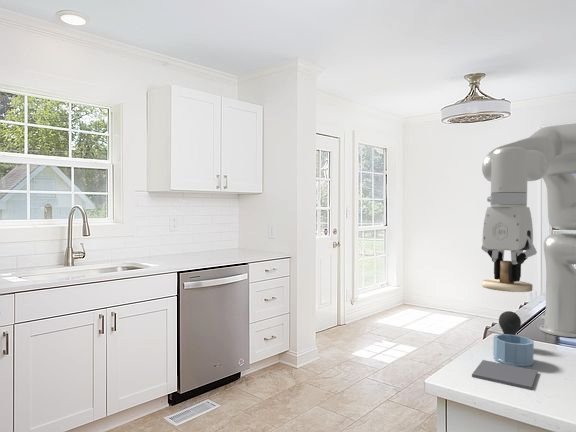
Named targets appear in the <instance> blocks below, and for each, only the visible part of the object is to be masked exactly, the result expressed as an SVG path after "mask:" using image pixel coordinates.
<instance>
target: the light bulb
mask: <svg viewBox="0 0 576 432" xmlns="http://www.w3.org/2000/svg"><path fill="white" fill-rule="evenodd" d="M498 323H499V327H500V329H501V330H502V334H510V335H517V332H519V330H520V328H521V326H522V321H521V317H520V316H519V315H518V314H517V313H516V312H514V311H512V310H510V311H509V310H508V311H503V312H502V313H501V314H500V315H499V318H498Z"/></svg>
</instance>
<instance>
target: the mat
mask: <svg viewBox="0 0 576 432" xmlns="http://www.w3.org/2000/svg"><path fill="white" fill-rule="evenodd" d="M537 375H538V370H536V369H531V368H528V367H517V366H512V365H507V364H502V363H499V362H497V361H492V360H491V361H490V360H486V359H482V360H481V361H480V363H479V365H477V367H476V369H475V370H474V371H473V373H471V377H472V378H476V379H480V380H486V381H489V382H494V383H499V384H503V385H508V386H512V387H518V388H522V389H527V390H530V391H531V390H533V387H534V384H535V382H536V378H537Z"/></svg>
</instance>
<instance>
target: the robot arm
mask: <svg viewBox="0 0 576 432" xmlns="http://www.w3.org/2000/svg"><path fill="white" fill-rule="evenodd" d="M481 171H482V172H481V173H482V175H483V178H485V180H487V181H488V182H490V196H487V198H486V200H487V202H488V203H490V206H488V207H486V210H485V215H484V221H483V228H482V244H481V245H482V246H481V250H482V251H483V252H485V253H486V254H487V255H488V256H489V257H490V259H491V261H492V263H493V274H494V275H493V277H494V279H497V280H498V279H500V261H504V258H505V257H504V256H505V251H510V259H511V260H510V261H511V262H512V264H509V281H510V282H516V281H521V277H522V273H521V272H522V265H523V264H524V263H525V261H526V260H527V259H529V258H530V257H533V256H535V255H536V254H537V249H536V248H535V245H534V229H533V227H534V226H533V220H532V219H533V218H532V213H531V210H530V207H529V206H528V182H533V181H534V182H535V181H538V180H540V179H543V181H544V184H545V186H546V192H547V193H546V194H547V196H546V197H547V198H546V199H547V202H546V203H547V218H548V219H547V220H548V223H549V226H550V227H551V228H553V229H556V230H561V231H562V230H565V231H576V177H575V176H574V174H575V175H576V122H575V123H567V124H556V125H550V126H545V127H542V128H539V129H538V130H537V131H535V132H534V133H533V134H531V135H529V137H526V138H521V139H519V140H516V141H512V142H510V143H507V144H504V145H500V146H498V147H496V148H494V149H492V150H491V151H489V152H488V153H487V154H486V155H485V157H484V159H483V161H482V165H481ZM543 253H544V260H545V269H546V271H545V272H546V273H545V275H546V277H545V281H546V282H545V314H544V315H543V314H541V316H540V319H541V320H543V323H542V324H540V325H539V330H540V331H542V332H543V333H546V334H549V335H554V336H558V337H564V338H565V337H566V338H576V268H575V267H574V265H576V233H567V232H566V233H563V232H562V233H561V232H560V233H551V234H550V235H548V236H546V237H545V238H544V241H543Z"/></svg>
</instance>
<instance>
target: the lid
mask: <svg viewBox="0 0 576 432" xmlns="http://www.w3.org/2000/svg"><path fill="white" fill-rule="evenodd" d="M509 264H512V262H511V260H503V261H500V279H498V280H497V279H493V278H491V279H483V280H482V283H481V286H482V287H483V288H485V289H488V290H492V291H498V292H500V291H501V292H506V293H507V292H511V293H530V292H532V291H533V284H532V283H530V282H526V281H521V280H520V281H516V282H510V281H509Z"/></svg>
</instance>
